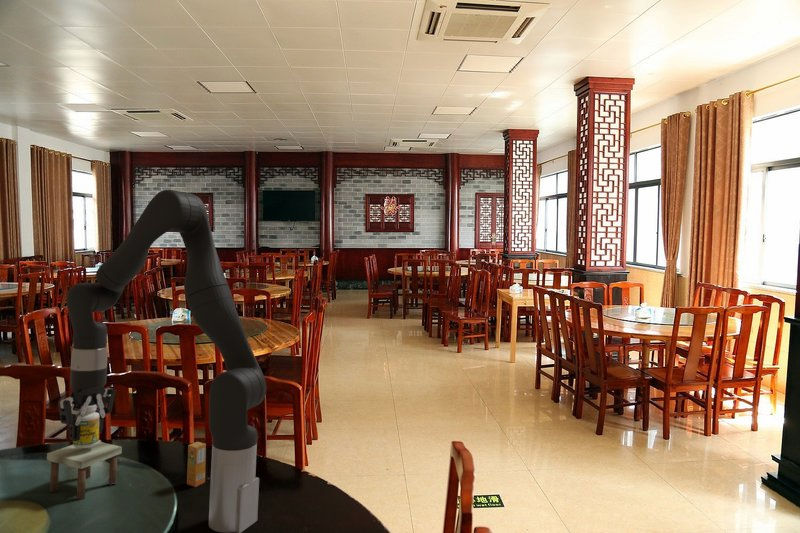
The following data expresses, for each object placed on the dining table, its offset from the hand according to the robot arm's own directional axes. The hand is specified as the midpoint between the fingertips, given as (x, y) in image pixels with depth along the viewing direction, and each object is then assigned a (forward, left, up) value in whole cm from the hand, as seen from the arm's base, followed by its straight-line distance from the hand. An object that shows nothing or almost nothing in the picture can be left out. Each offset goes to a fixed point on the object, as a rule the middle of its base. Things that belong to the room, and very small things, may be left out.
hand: (86, 436), depth 129 cm
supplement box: (-21, -13, -13) cm, 28 cm away
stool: (0, 0, -12) cm, 12 cm away
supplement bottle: (0, 0, -2) cm, 2 cm away
